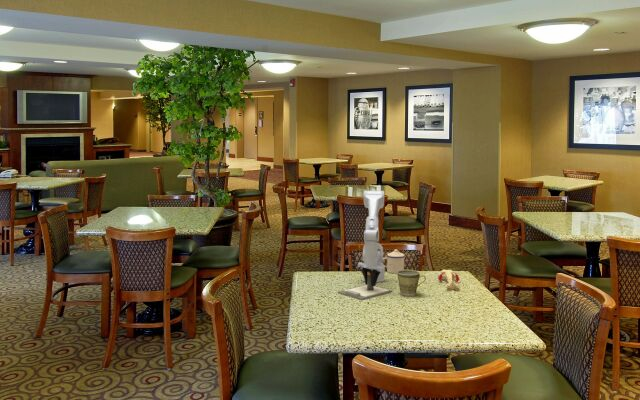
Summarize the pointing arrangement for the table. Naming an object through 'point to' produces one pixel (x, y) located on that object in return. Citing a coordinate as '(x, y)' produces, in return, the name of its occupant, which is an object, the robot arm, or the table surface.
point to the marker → (369, 282)
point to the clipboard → (364, 292)
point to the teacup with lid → (394, 261)
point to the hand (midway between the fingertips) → (370, 285)
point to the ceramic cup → (409, 281)
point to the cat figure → (449, 279)
